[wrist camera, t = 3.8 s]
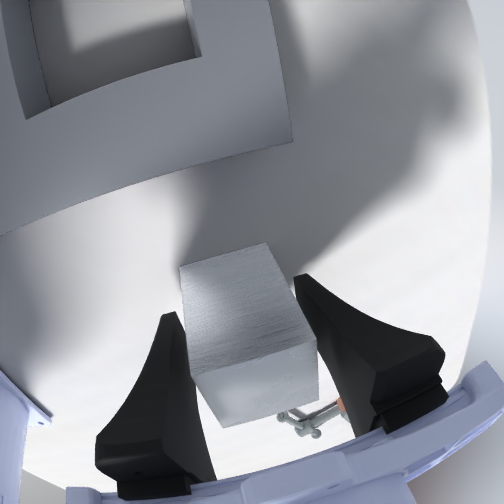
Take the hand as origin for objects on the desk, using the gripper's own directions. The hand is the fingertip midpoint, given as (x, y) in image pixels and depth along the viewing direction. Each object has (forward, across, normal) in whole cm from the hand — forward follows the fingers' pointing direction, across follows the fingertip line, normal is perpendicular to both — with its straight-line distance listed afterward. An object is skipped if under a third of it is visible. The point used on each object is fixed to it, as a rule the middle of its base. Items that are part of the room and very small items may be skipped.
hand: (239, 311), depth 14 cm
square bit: (+2, 0, 0) cm, 2 cm away
